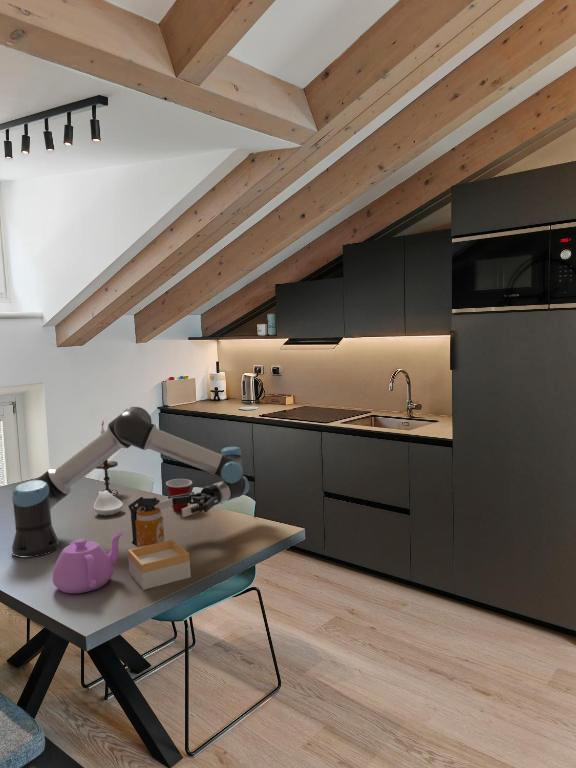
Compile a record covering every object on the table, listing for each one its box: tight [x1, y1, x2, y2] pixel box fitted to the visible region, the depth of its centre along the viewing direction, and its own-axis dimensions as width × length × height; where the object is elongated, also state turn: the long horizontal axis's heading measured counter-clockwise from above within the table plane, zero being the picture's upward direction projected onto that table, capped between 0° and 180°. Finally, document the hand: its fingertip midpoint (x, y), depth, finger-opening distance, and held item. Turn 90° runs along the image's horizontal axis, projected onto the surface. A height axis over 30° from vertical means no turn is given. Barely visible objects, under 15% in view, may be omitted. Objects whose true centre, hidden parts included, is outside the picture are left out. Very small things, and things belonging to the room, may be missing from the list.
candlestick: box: [94, 420, 119, 494], centre depth 280 cm, size 11×11×35 cm
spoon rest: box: [93, 490, 124, 517], centre depth 256 cm, size 24×12×7 cm, turn 27°
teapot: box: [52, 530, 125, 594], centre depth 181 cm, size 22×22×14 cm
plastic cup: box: [165, 478, 193, 513], centre depth 251 cm, size 11×11×12 cm
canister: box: [128, 496, 166, 548], centre depth 200 cm, size 9×11×20 cm
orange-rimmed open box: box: [127, 539, 192, 591], centre depth 184 cm, size 15×15×8 cm
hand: (169, 509), depth 207 cm, fingers open, 13 cm apart
